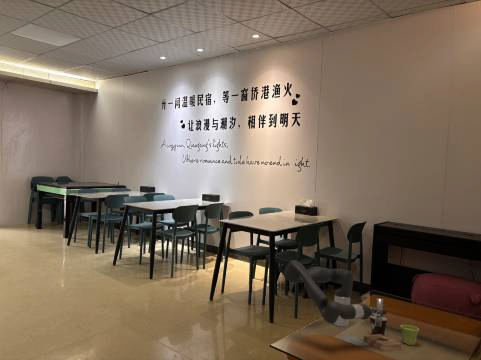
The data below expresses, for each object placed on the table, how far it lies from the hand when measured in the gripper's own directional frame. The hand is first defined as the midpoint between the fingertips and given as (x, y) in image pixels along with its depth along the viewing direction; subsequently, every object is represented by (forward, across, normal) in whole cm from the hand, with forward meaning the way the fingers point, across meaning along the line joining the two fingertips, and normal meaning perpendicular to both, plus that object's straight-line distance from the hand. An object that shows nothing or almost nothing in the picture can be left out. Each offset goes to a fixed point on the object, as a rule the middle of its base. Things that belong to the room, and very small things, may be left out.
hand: (383, 311), depth 201 cm
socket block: (0, +1, -18) cm, 18 cm away
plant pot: (+20, +1, -18) cm, 27 cm away
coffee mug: (+12, -14, -18) cm, 26 cm away
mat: (-11, -8, -18) cm, 23 cm away
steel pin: (-3, 0, -8) cm, 8 cm away
